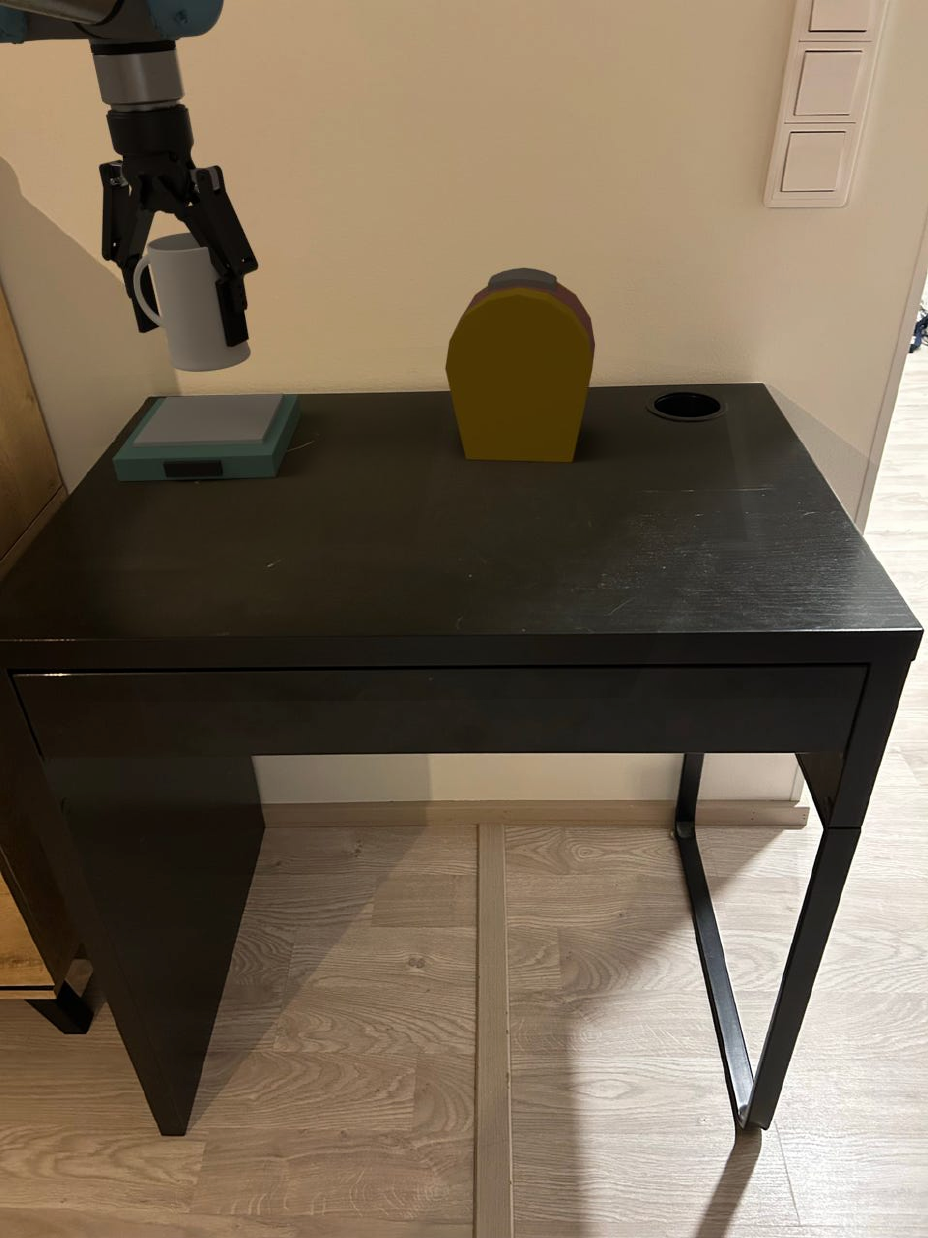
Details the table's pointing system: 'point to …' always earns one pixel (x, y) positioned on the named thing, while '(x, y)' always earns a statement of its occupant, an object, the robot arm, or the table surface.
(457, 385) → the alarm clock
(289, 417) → the scale
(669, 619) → the table surface
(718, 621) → the table surface
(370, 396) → the table surface
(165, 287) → the mug
